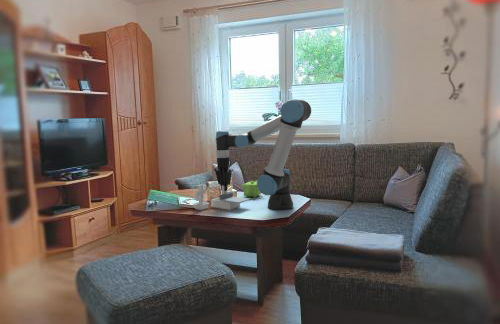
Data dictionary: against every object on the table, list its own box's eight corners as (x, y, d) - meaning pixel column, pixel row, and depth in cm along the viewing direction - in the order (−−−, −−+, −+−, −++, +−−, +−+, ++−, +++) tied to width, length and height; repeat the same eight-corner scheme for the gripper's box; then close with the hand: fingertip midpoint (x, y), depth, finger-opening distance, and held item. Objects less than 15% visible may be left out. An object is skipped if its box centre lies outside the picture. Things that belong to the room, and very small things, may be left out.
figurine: (191, 210, 213) (190, 185, 211) (201, 207, 221) (200, 182, 219) (201, 212, 210) (200, 186, 208) (211, 208, 218) (210, 183, 216)
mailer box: (240, 207, 219) (239, 198, 219) (229, 210, 211) (229, 202, 211) (222, 204, 227) (221, 196, 227) (211, 207, 219) (211, 199, 219)
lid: (250, 199, 215) (250, 194, 215) (239, 203, 206) (239, 197, 206) (231, 197, 223) (230, 192, 223) (219, 200, 214) (219, 195, 214)
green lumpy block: (257, 193, 259) (256, 178, 257) (267, 196, 247) (266, 181, 246) (238, 196, 251) (237, 180, 250) (247, 199, 240) (247, 183, 238)
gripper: (235, 156, 216) (236, 196, 218) (218, 156, 223) (220, 193, 226) (227, 158, 210) (229, 198, 212) (210, 157, 217) (212, 196, 220)
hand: (224, 196), depth 219 cm, fingers closed
